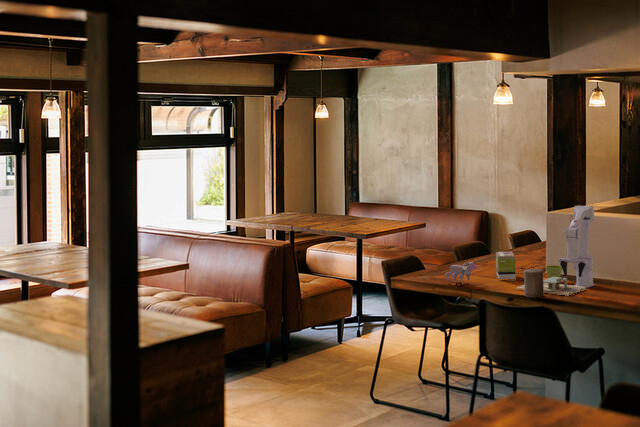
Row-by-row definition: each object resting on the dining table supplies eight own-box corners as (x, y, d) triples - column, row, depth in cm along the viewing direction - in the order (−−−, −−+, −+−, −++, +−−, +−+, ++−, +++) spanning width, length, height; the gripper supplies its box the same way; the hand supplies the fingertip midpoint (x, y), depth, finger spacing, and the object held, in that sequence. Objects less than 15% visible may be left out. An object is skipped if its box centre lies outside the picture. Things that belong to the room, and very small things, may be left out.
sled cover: (553, 285, 435) (553, 274, 434) (567, 286, 429) (567, 276, 429) (540, 289, 425) (540, 279, 424) (554, 291, 419) (554, 280, 419)
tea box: (496, 275, 476) (495, 251, 474) (513, 275, 475) (513, 251, 473) (498, 280, 461) (497, 255, 460) (516, 280, 460) (515, 255, 458)
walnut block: (552, 290, 430) (552, 281, 430) (559, 291, 427) (559, 282, 427) (548, 291, 427) (548, 282, 427) (555, 292, 424) (555, 283, 424)
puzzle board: (534, 283, 448) (534, 281, 448) (585, 289, 428) (585, 287, 427) (516, 290, 434) (516, 287, 434) (567, 296, 413) (567, 293, 413)
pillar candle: (547, 296, 415) (546, 268, 413) (530, 298, 412) (530, 270, 410) (537, 293, 424) (536, 265, 422) (520, 295, 421) (520, 267, 420)
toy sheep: (484, 284, 452) (482, 261, 450) (473, 289, 444) (472, 265, 442) (454, 281, 465) (453, 258, 463) (443, 285, 458) (442, 262, 456)
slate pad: (565, 287, 427) (565, 287, 427) (578, 289, 422) (578, 288, 422) (559, 290, 422) (559, 289, 422) (571, 291, 417) (571, 291, 417)
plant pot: (556, 284, 445) (556, 268, 444) (542, 282, 452) (542, 267, 452) (566, 281, 452) (565, 266, 451) (551, 279, 459) (551, 264, 458)
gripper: (556, 250, 417) (556, 276, 418) (584, 252, 408) (584, 278, 409) (561, 248, 423) (561, 274, 424) (588, 250, 414) (588, 276, 415)
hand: (572, 276), depth 417 cm, fingers open, 7 cm apart
